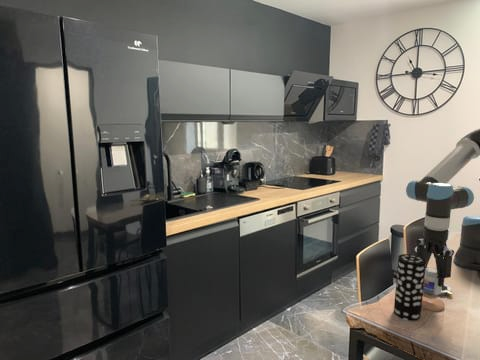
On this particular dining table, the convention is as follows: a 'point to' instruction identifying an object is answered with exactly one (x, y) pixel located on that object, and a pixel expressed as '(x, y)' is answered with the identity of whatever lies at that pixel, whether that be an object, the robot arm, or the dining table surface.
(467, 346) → the dining table surface
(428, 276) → the pill bottle
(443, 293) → the collar
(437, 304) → the peach disc
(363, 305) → the dining table surface
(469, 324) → the dining table surface
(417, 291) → the spotted tube
